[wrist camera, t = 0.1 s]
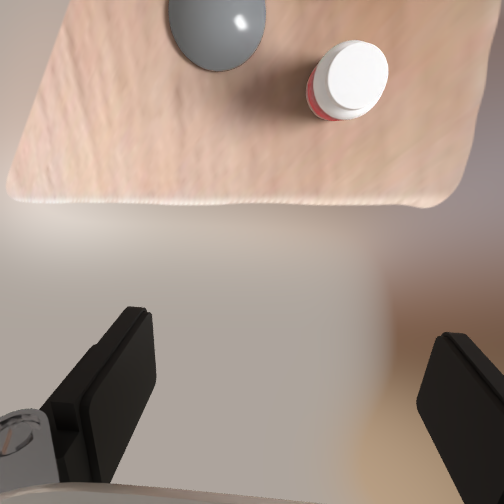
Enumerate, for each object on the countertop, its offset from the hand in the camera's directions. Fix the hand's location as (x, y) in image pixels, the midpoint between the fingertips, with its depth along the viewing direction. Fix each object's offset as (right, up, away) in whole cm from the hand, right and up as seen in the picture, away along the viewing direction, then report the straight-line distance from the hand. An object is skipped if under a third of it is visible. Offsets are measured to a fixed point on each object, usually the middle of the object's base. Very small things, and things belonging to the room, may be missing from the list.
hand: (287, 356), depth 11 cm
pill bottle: (+8, +21, +25) cm, 34 cm away
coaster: (-5, +28, +23) cm, 36 cm away
